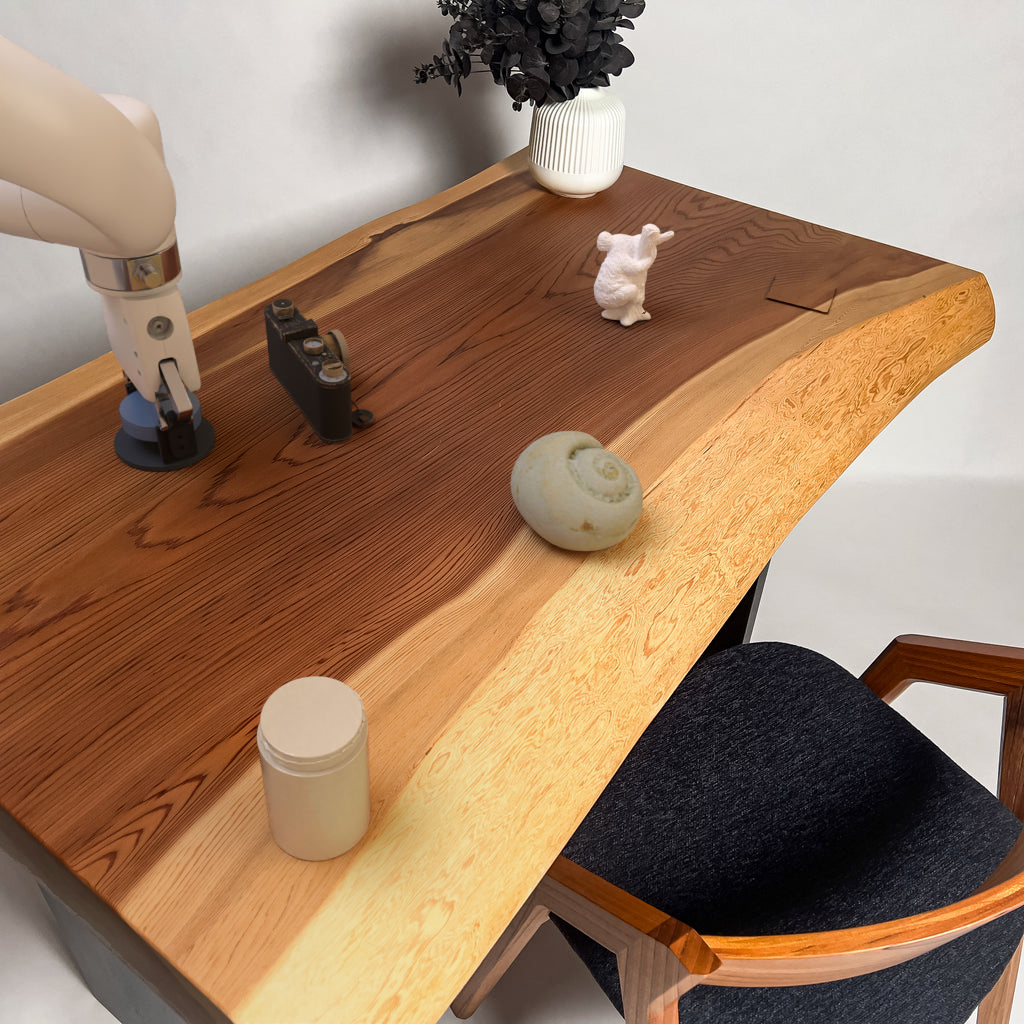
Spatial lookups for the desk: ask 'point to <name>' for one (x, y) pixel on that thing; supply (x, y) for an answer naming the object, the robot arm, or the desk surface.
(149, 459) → the coaster
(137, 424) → the jar lid
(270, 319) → the camera
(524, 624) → the desk surface
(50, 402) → the desk surface
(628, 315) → the koala figurine
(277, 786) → the jar
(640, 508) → the seashell
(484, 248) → the desk surface
